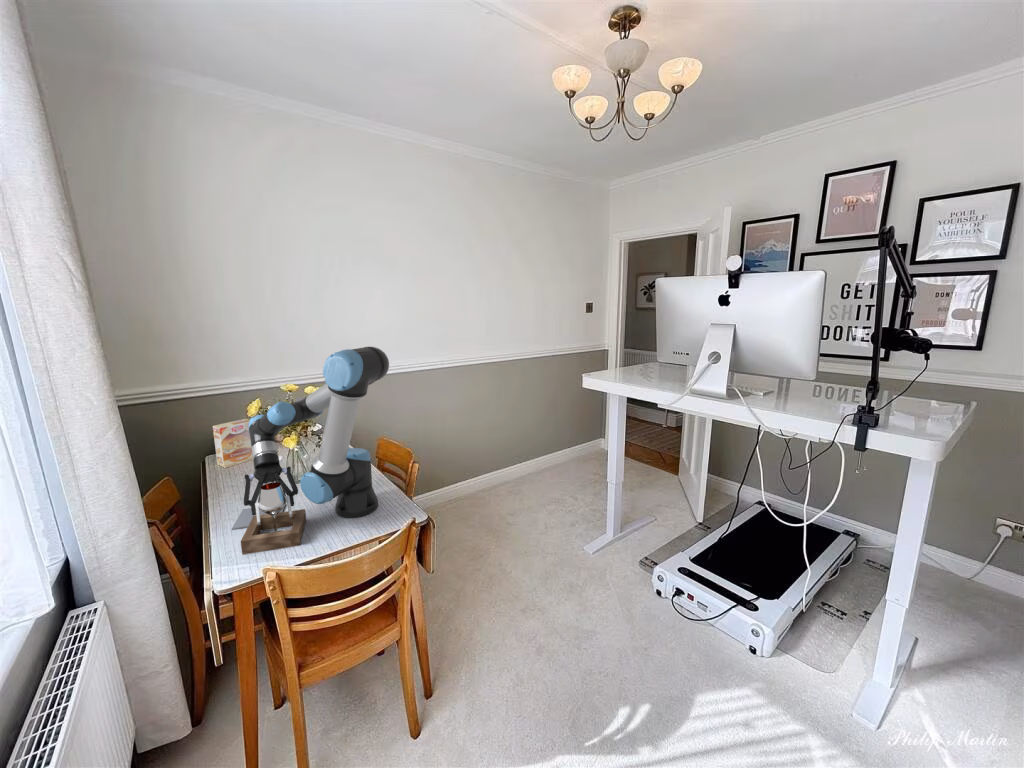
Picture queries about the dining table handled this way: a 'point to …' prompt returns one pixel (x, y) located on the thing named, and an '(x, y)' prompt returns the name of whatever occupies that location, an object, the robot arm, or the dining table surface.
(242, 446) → the coffeecake box
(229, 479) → the dining table surface
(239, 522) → the mat
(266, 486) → the wineglass
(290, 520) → the frame
